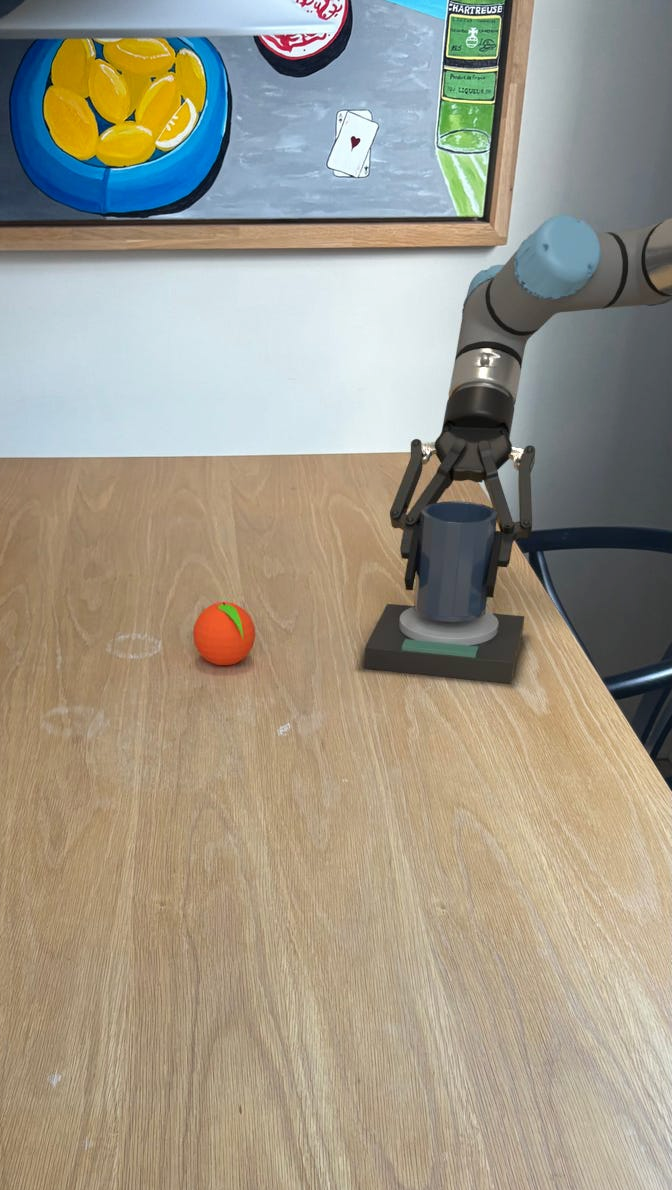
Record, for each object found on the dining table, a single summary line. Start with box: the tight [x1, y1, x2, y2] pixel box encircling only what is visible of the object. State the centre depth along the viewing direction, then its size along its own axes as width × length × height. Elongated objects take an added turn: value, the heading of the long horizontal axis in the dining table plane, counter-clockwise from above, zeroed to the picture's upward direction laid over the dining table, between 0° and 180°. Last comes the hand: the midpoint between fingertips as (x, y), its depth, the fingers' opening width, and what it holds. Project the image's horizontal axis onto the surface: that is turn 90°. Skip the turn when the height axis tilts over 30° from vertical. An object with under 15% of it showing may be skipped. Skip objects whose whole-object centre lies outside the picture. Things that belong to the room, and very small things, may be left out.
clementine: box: [192, 601, 256, 666], centre depth 136 cm, size 8×7×7 cm
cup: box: [413, 500, 498, 622], centre depth 135 cm, size 8×8×11 cm
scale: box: [363, 603, 525, 684], centre depth 139 cm, size 16×14×4 cm
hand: (448, 588), depth 133 cm, fingers closed on cup, 8 cm apart
